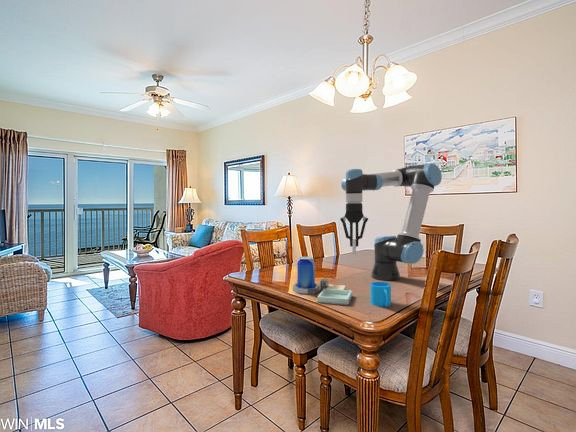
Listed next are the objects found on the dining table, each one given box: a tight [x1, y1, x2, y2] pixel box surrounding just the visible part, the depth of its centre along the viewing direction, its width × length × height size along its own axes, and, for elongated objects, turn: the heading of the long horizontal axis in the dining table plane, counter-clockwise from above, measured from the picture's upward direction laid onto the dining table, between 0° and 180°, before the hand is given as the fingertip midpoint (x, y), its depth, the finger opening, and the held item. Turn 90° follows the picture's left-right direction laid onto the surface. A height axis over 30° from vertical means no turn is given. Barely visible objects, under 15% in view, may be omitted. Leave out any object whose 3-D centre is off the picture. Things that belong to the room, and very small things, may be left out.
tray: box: [316, 288, 353, 306], centre depth 138 cm, size 13×13×2 cm
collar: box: [292, 282, 320, 295], centre depth 152 cm, size 12×12×2 cm
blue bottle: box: [296, 256, 316, 288], centre depth 152 cm, size 8×8×16 cm
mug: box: [370, 281, 392, 307], centre depth 129 cm, size 12×8×8 cm
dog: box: [319, 278, 329, 292], centre depth 151 cm, size 3×4×5 cm
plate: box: [326, 283, 347, 290], centre depth 149 cm, size 8×8×2 cm
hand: (354, 253), depth 146 cm, fingers closed
